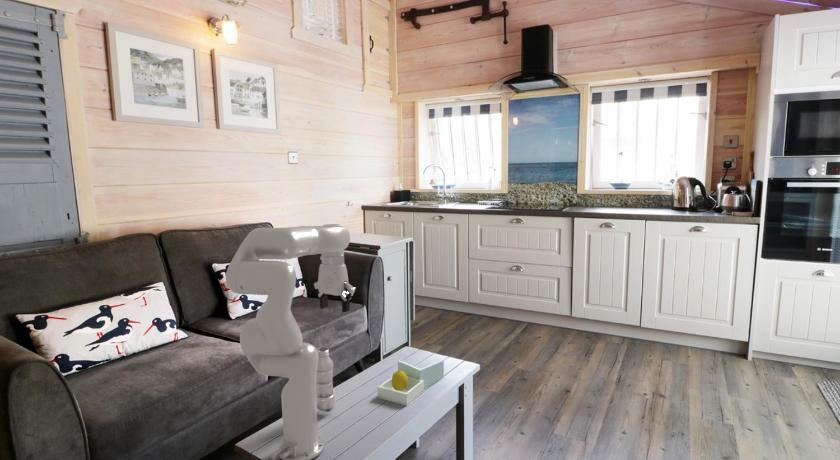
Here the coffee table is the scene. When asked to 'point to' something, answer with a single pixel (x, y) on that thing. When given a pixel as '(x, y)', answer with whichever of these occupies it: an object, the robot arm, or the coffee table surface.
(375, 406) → the coffee table surface
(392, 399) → the bin
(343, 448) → the coffee table surface
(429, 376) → the l-shaped corner panel
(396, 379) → the lemon
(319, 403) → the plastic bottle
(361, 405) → the coffee table surface
